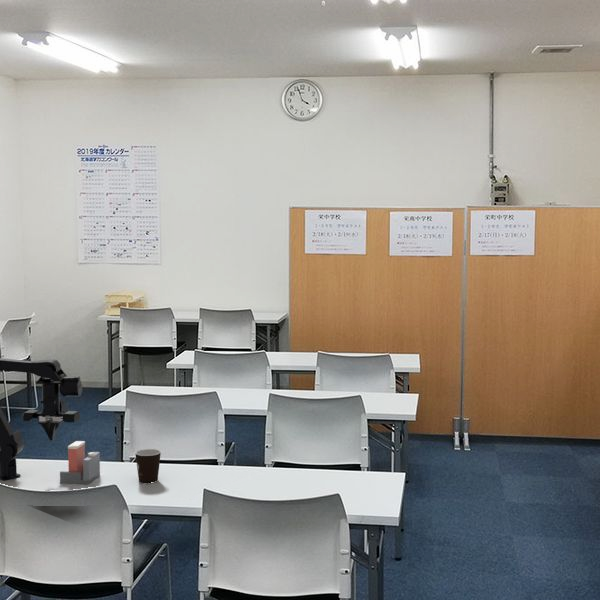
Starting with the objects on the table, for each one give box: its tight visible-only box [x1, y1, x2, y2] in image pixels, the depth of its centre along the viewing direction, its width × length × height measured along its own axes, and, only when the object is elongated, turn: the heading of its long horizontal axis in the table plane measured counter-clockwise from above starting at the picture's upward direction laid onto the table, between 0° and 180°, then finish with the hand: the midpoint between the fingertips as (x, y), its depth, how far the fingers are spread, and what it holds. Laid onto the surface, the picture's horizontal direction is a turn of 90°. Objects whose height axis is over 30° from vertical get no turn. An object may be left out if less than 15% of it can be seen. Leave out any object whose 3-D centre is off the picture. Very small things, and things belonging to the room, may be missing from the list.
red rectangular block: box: [67, 440, 86, 474], centre depth 265 cm, size 3×7×11 cm, turn 174°
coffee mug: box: [134, 448, 162, 484], centre depth 265 cm, size 12×9×10 cm
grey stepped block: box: [59, 451, 101, 486], centre depth 265 cm, size 10×10×10 cm
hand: (51, 440), depth 267 cm, fingers closed
